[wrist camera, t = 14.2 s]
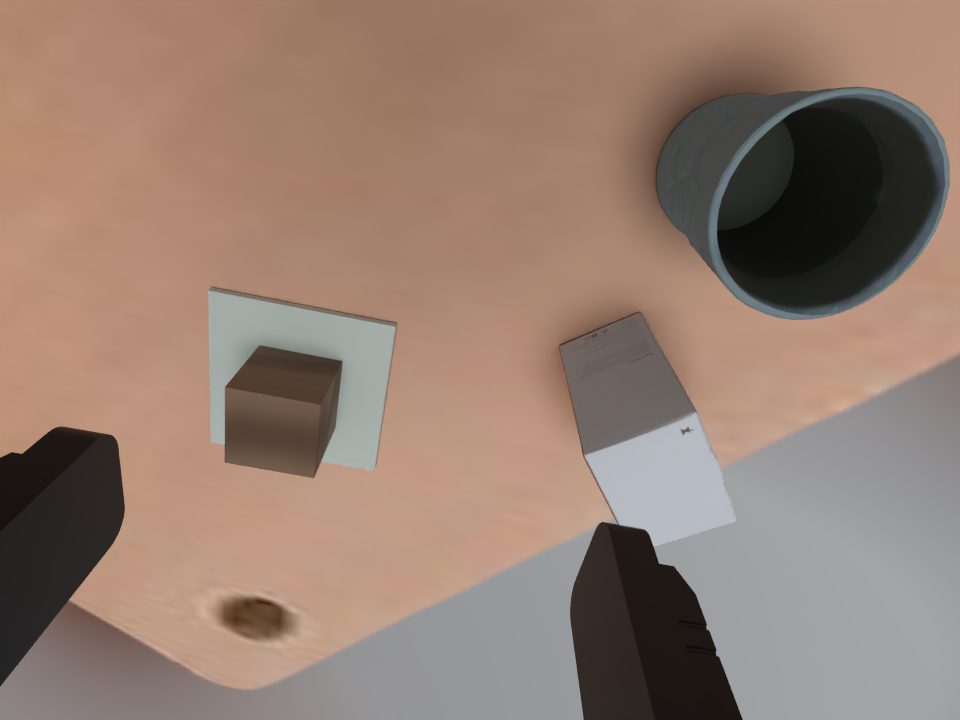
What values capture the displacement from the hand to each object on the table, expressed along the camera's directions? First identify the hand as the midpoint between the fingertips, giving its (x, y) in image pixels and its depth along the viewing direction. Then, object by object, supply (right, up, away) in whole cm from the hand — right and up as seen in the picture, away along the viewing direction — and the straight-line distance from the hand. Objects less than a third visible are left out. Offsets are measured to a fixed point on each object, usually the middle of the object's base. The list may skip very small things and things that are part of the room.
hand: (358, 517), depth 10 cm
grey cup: (+17, +15, +26) cm, 35 cm away
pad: (-12, +1, +34) cm, 36 cm away
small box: (+12, +2, +33) cm, 35 cm away
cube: (-11, +1, +33) cm, 35 cm away
